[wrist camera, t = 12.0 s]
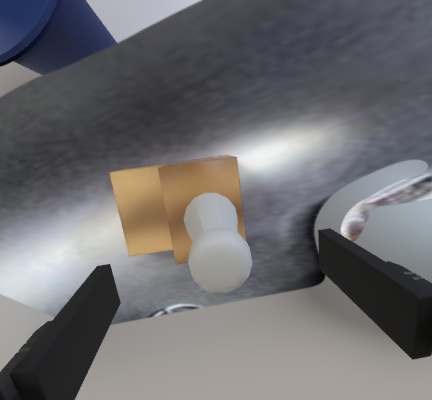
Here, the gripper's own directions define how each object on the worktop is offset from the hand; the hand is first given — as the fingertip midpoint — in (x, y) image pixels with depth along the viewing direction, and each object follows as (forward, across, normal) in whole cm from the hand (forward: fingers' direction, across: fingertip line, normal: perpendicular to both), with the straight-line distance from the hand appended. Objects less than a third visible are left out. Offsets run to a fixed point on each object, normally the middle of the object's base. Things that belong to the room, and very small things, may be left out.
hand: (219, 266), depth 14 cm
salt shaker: (+13, 0, 0) cm, 13 cm away
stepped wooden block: (+21, -4, 0) cm, 21 cm away
